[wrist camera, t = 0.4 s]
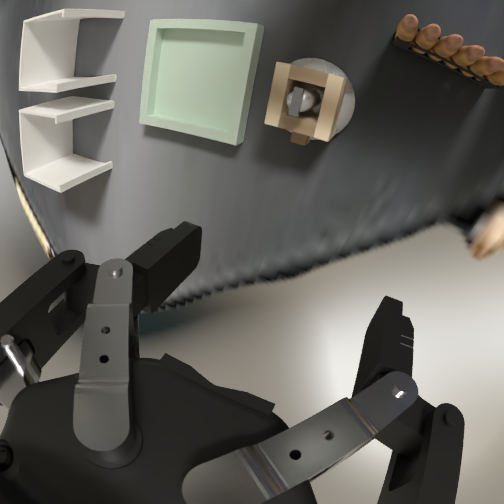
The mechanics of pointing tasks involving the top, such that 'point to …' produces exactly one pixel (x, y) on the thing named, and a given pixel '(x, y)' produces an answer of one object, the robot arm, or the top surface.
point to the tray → (200, 76)
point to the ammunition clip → (449, 52)
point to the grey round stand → (319, 94)
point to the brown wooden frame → (304, 124)
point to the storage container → (61, 110)
